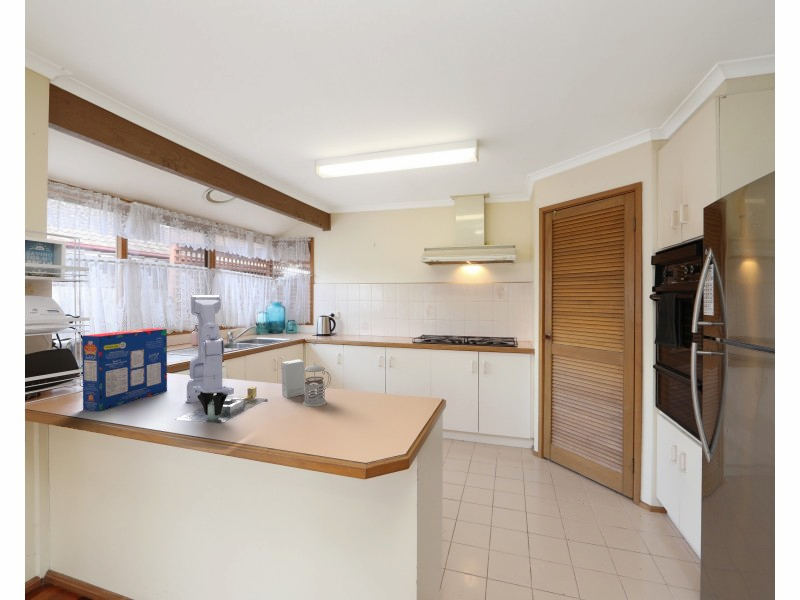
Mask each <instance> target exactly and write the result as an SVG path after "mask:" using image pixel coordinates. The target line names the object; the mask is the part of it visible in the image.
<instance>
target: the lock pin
mask: <svg viewBox="0 0 800 600" xmlns="http://www.w3.org/2000/svg"><path fill="white" fill-rule="evenodd" d="M243 397H244V396H243ZM244 398H245V402H246V401H248V400H250V399H253V398H257V386H250V387H248V388H247V395H246V396H245V397H244Z"/></svg>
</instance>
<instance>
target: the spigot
mask: <svg viewBox="0 0 800 600" xmlns="http://www.w3.org/2000/svg"><path fill="white" fill-rule="evenodd" d="M215 419H218V415H217V416H215V411H214V402H213V400H212V401H210V403H209V404H208V420H215Z"/></svg>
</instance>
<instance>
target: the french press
mask: <svg viewBox="0 0 800 600" xmlns="http://www.w3.org/2000/svg"><path fill="white" fill-rule="evenodd" d="M317 344H318V342H317V340H313V341H312V344H311V345H317ZM325 369H326V368H325V367H324V366H323V365H320V364H317V363H314V364H311V365H308V366H306V367H304V372H308V373H314V374H313V375H314V376H309V377H306V378H304V386H305V394H304V401H302V403H301V404H302V406H304V407H320V406H324V405H325V404H327V402H328V401H327V400H326V398H325V397H326V395H325V394H326V392H325V390H326V389H327V388H329V386H330V385H331V380H332V377H331V374H330V373H329V372H328V371H326V370H325ZM318 372H321V373H322V375H325V374H327V377H328V380H327V383H326V384H325V382H324V377H323V376H318V375H317V376H316V373H318Z"/></svg>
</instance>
